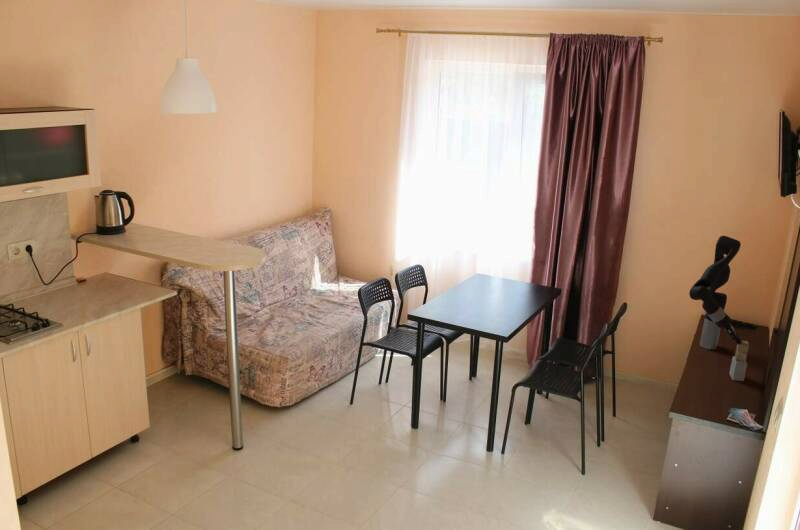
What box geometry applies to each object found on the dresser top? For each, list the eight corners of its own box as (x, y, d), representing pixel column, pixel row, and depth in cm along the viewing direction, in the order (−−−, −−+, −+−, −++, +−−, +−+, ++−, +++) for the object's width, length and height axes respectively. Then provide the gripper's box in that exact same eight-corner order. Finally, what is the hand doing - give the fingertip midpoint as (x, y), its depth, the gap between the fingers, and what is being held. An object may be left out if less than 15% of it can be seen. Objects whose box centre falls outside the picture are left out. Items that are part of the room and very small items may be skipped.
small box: (743, 381, 373) (747, 363, 370) (732, 380, 374) (736, 362, 371) (740, 375, 381) (744, 357, 378) (729, 373, 382) (732, 355, 379)
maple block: (734, 357, 376) (738, 340, 373) (743, 358, 375) (747, 341, 372) (736, 361, 372) (739, 343, 369) (745, 362, 371) (749, 344, 368)
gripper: (728, 317, 363) (747, 341, 364) (723, 307, 376) (742, 331, 377) (715, 326, 365) (734, 349, 366) (710, 315, 379) (729, 338, 380)
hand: (738, 340), depth 372 cm, fingers open, 8 cm apart
